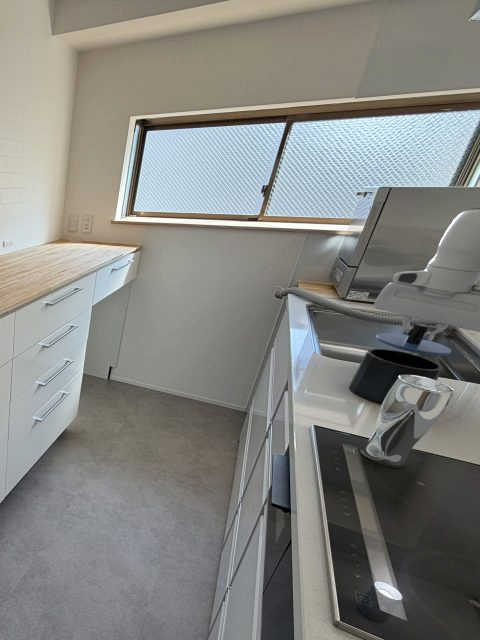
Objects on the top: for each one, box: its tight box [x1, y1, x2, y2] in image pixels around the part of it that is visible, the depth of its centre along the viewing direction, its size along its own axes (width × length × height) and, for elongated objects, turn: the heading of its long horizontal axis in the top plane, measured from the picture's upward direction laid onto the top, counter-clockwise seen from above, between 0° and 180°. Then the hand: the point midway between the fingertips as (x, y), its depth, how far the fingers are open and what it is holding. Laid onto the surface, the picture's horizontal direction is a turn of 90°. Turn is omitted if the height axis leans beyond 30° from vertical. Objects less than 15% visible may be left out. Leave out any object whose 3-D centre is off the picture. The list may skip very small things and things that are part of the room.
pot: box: [348, 348, 444, 406], centre depth 94 cm, size 12×12×10 cm
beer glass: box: [359, 375, 456, 469], centre depth 70 cm, size 7×7×15 cm
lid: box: [375, 323, 452, 356], centre depth 101 cm, size 14×14×6 cm
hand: (415, 337), depth 101 cm, fingers closed on lid, 2 cm apart
